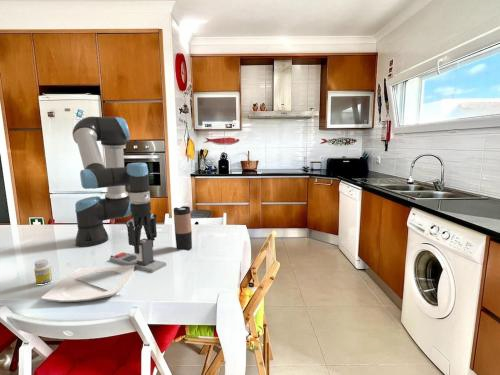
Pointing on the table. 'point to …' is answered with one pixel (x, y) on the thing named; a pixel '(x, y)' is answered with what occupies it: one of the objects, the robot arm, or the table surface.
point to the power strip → (132, 260)
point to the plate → (85, 285)
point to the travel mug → (183, 228)
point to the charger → (146, 251)
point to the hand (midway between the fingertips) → (145, 258)
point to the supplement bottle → (42, 272)
